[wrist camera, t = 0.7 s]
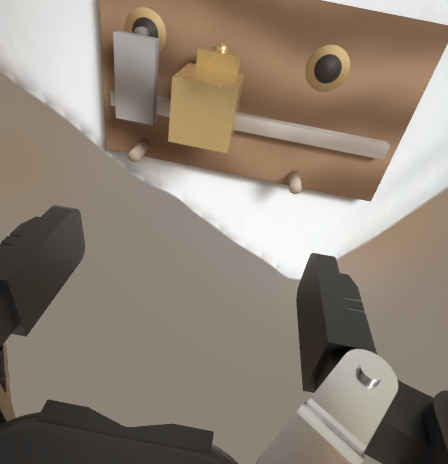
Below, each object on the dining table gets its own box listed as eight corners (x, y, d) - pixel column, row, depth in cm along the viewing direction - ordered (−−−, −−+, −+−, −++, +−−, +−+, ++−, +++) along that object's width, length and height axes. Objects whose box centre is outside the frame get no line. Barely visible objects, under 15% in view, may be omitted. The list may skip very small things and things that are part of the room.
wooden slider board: (105, -42, 24) (79, -48, 21) (446, 25, 24) (473, 30, 21) (112, 142, 32) (94, 159, 29) (367, 193, 32) (377, 215, 29)
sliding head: (197, 37, 25) (174, 49, 19) (250, 47, 25) (243, 63, 19) (188, 123, 28) (167, 155, 23) (234, 132, 28) (225, 167, 23)
